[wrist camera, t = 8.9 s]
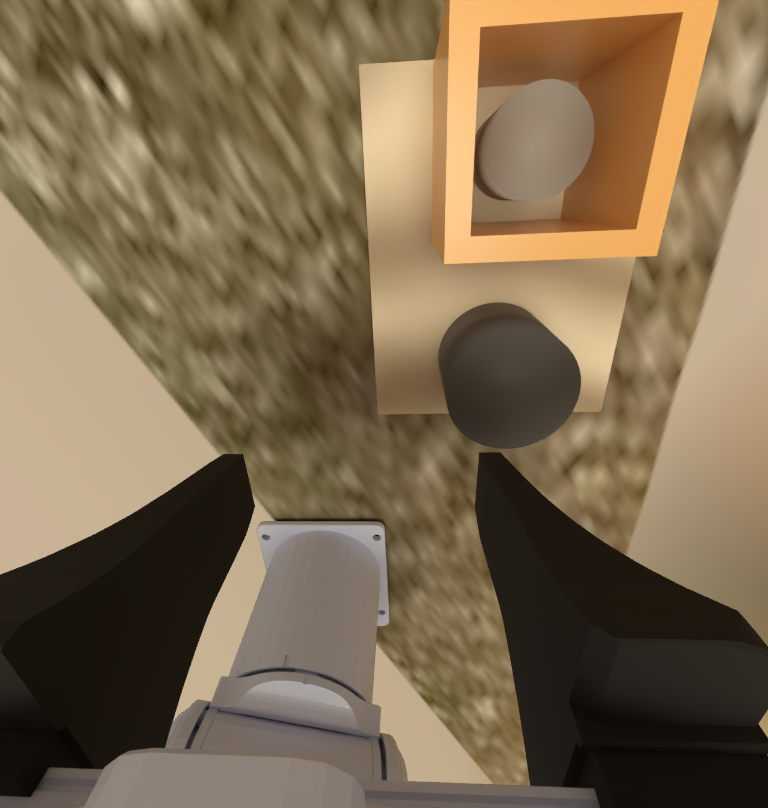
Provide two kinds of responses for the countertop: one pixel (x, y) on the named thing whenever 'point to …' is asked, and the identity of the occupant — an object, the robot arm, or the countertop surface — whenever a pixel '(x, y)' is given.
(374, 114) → the fitting board
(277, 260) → the countertop surface
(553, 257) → the sleeve
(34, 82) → the countertop surface
